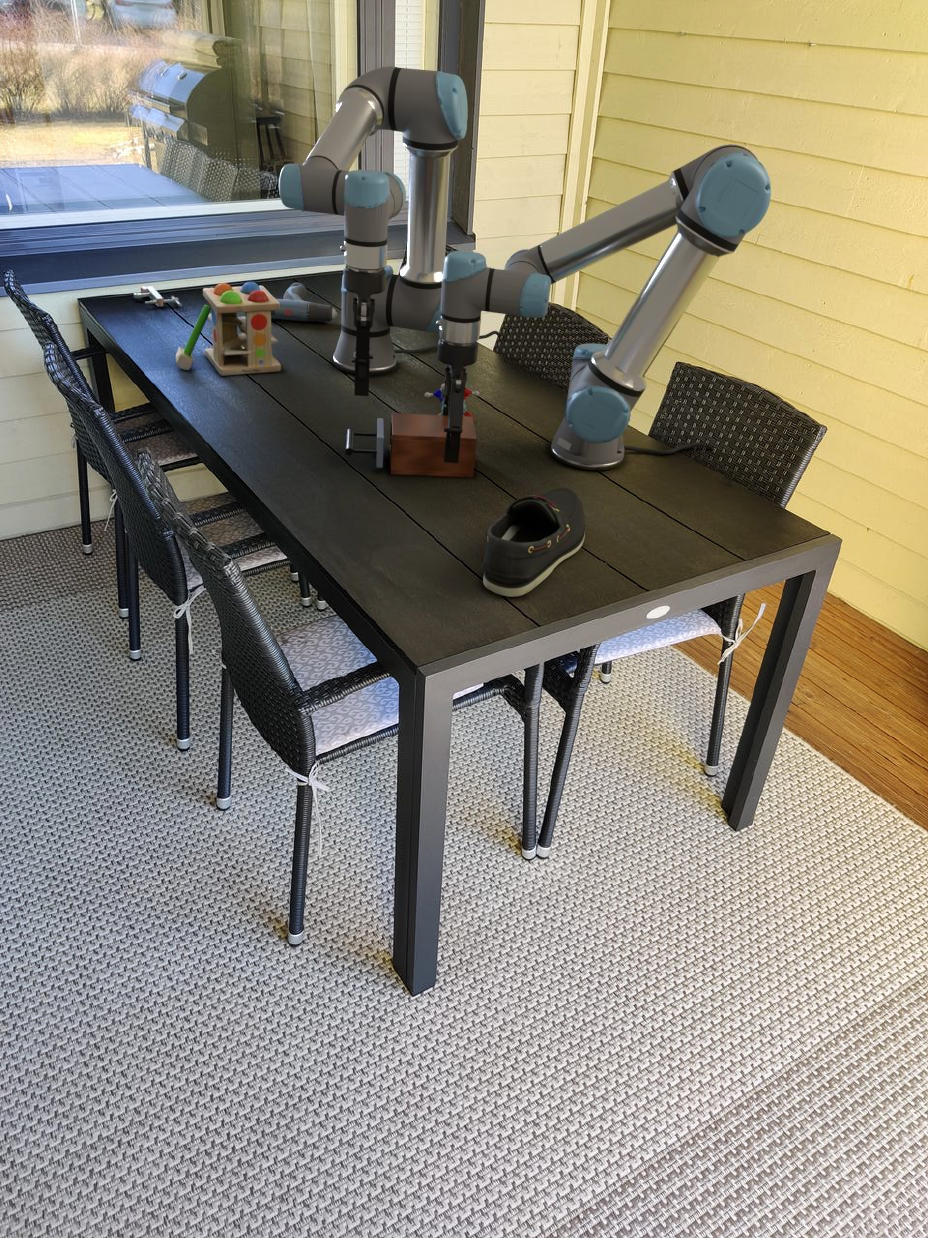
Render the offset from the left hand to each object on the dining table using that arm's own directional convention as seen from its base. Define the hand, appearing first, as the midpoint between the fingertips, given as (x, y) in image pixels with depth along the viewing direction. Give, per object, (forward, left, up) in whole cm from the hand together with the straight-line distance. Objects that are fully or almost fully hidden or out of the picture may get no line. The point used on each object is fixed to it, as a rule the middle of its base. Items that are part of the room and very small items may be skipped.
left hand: (361, 394), depth 186 cm
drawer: (-6, +5, -13) cm, 15 cm away
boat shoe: (-3, +45, -14) cm, 47 cm away
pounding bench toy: (-5, -58, -14) cm, 60 cm away
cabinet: (-11, +9, -14) cm, 20 cm away
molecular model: (-28, -5, -14) cm, 32 cm away
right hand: (-14, +11, -11) cm, 20 cm away
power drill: (-44, -81, -14) cm, 93 cm away
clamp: (-14, -107, -14) cm, 109 cm away
